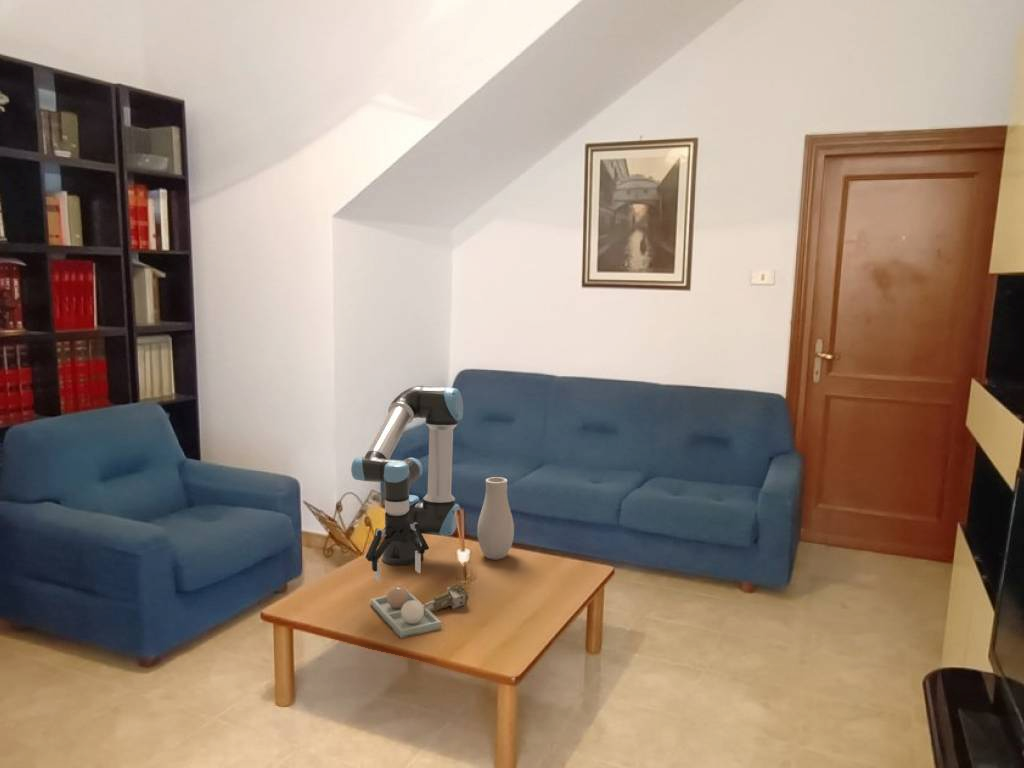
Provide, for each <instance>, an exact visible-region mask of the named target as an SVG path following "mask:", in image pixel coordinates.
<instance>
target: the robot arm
mask: <svg viewBox="0 0 1024 768" xmlns="http://www.w3.org/2000/svg"><path fill="white" fill-rule="evenodd" d="M463 401H464V400H463V396H462V394H461V391H460V390H459V389H458V388H456V387H449V386H430V385H429V386H426V385H425V386H424V385H415V386H412V387H410V388H408V389H405V390H404V391H403V392H401V393H399V395H397V396H396V397H395V398H394V399H393V400H392V402H391V403H390V405H389V406H388V409H387V410H388V411H387V413H388V415H387V416H386V418H385V420H384V422H383V424H382V425H381V427H380V429H379V431H378V432H377V434H376V436H375V437H374V440H373V441H372V443H371V445H370V446H369V449H368V450H367V452H366V453H365V456H364V457H363V456H357V457H356V458H354V459H353V461H352V463H351V471H350V473H351V476H352V478H353V479H354V480H356V481H362V482H374V483H384V484H383V485H384V511H385V512H384V523H385V524H384V526H385V527H384V529H380V528H375V531H374V537H373V539H372V542H371V544H370V545H369V548H368V551H367V552H366V554H365V559H366V560H367V561H368V562H371V570H372V571H373V572H374V580H375V581H376V582H377V583H380V582H381V561H380V560H379V559H380V558H381V556H382V561H383V562H384V563H386V564H388V565H393V566H411V565H414V567H415V569H414V570H415V572H416V573H418V574H421V573H422V571H421V569H422V567H421V565H422V562H423V561H424V554H425V552H426V551H428V550H429V549H430V547H429V545H428V543H427V541H426V539H425V538H424V535H432V536H440V537H442V536H447V537H448V536H452V535H453V534H454V533H455V531H456V530H457V527H458V524H456V517H455V510H460V511H461V507H460V505H459V504H458V503H456V498H455V497H454V495H452V481H453V479H452V478H453V477H452V475H453V448H454V447H453V445H454V429H455V428H456V427H457V426H458V424H459V421H461V420H462V419H463V417H464V402H463ZM417 418H419V419H425V425H426V426H427V427H428V428H429V434H428V439H429V440H428V466H427V467H428V469H427V470H428V471H427V493H426V494H425V496H423V499H422V501H420V498H419V495H414V494H410V487H411V486H412V485H413V484H414V483H415V482H417V481H418V480H420V477H421V476H422V475H423V471H424V467H423V464H422V462H421V461H420V460H419V459H417V458H416V457H415V458H414V457H408V458H405V459H391V456H392V454H393V452H394V451H395V449H396V447H397V445H398V443H399V441H400V439H401V437H402V436H403V434H404V431H405V430H406V427H407V426H408V425H409V424H411V423H412V422H413V420H414V419H417ZM384 534H385V536H384ZM423 534H424V535H423ZM382 538H383V540H382ZM380 542H381V543H380Z"/></svg>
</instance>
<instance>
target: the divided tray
mask: <svg viewBox="0 0 1024 768" xmlns="http://www.w3.org/2000/svg"><path fill="white" fill-rule="evenodd" d="M407 591H408V590H407ZM408 593H409V600H417V601H419V602H420V603H421V604H422V605H423V607H424V615H423V618H422V619H421V620H420V621H419V622H418V623H415V624H409V623H407V622H405V621H404V620H403V618H402V616H401V609H402V608H398V609H396V608H393V607H391V606H390V605H389V604H388V602H387V595H384V596H380V597H374V598H371V599H370V606H371V608H372V609H373V610H374V611H375V612H376V613H377V614H378V616H380V618H382V619H383V621H384V622H385V623H386V624H387V625H388V626H389V627H390V628H391V629H392V631H393V632H394V633H395V634H396V635H397V636H398V637H399V638H400V639H404V638H409V637H412V636H417V635H419V634H425V633H429V632H432V631H437V630H441V629H442V621H441V620H440V619H439V618H438V617H437V616H436V615H435V614H434V613H432V611H431V610H430V611H429V610H428V609H427V607H425V606H424V603H422V602H421V601H420V600H419V599H418V598H416V596H415V595H413V594H412V593H411V591H408ZM409 600H408V601H409Z"/></svg>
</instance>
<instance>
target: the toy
mask: <svg viewBox="0 0 1024 768" xmlns="http://www.w3.org/2000/svg"><path fill="white" fill-rule="evenodd" d="M468 594H469V591H468V589H467V588H466V587H465V586H464V585H463V584H462V582H456V583H454V584H452V585H450V586H449V587H446V592H444V593H441V594H439V595H436V596H434V597H433V598H432V599H431V600H429V601H427V602H424V603H423V605H424V606H425V607H426V608H427V609H428V610H429V611H430V612H431V611H432V610H435V611H438V610H441V609H445V608H447V607H449V606H451V608H452V609H456V608H459V607H462V606H464V605H467V604H468V600H469V595H468Z"/></svg>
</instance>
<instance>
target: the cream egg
mask: <svg viewBox="0 0 1024 768" xmlns="http://www.w3.org/2000/svg"><path fill="white" fill-rule="evenodd" d="M419 601H420V600H419ZM419 601H417V600H409V601H407V602H406V603H404V605H403V606H402V609H401V616H402V618H403V620H404V621H405V622H407V623H409V624H415V623H418V622H419V621H420V620H421V619H422V618H423V615H424V607H423V605H424V604H423V603H422V602H421V601H420V602H421V603H422V604H423V605H422V604H421V603H420V602H419Z"/></svg>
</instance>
